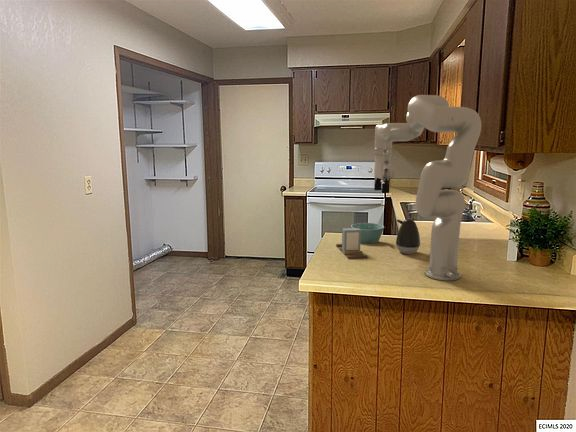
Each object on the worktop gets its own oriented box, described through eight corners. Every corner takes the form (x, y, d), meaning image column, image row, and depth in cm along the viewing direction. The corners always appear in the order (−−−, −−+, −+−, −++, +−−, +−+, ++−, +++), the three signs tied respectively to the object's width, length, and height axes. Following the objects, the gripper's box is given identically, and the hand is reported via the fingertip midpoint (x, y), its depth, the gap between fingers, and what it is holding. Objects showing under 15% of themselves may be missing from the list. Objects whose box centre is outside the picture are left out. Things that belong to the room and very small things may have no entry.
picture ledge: (367, 261, 171) (367, 255, 170) (348, 262, 170) (348, 256, 169) (353, 248, 191) (353, 243, 190) (336, 249, 190) (336, 244, 189)
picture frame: (360, 252, 178) (360, 230, 177) (344, 253, 178) (344, 230, 176) (357, 250, 182) (358, 228, 181) (341, 250, 182) (342, 228, 180)
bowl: (369, 248, 192) (369, 230, 190) (343, 242, 204) (344, 225, 202) (390, 243, 202) (390, 226, 200) (365, 237, 213) (365, 221, 212)
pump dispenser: (398, 248, 191) (400, 215, 189) (422, 251, 186) (423, 217, 183) (392, 253, 183) (393, 219, 180) (416, 256, 178) (418, 221, 175)
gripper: (398, 153, 175) (396, 193, 178) (384, 152, 192) (382, 189, 195) (381, 153, 174) (380, 194, 177) (368, 152, 191) (367, 189, 194)
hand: (381, 191), depth 186 cm, fingers open, 9 cm apart
